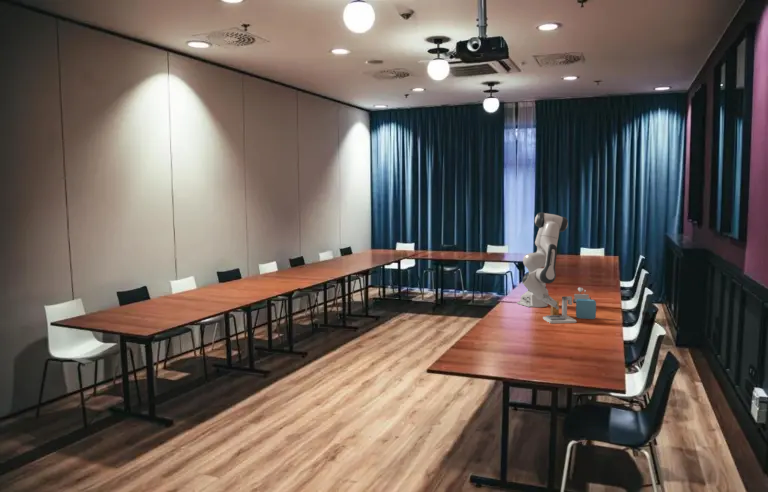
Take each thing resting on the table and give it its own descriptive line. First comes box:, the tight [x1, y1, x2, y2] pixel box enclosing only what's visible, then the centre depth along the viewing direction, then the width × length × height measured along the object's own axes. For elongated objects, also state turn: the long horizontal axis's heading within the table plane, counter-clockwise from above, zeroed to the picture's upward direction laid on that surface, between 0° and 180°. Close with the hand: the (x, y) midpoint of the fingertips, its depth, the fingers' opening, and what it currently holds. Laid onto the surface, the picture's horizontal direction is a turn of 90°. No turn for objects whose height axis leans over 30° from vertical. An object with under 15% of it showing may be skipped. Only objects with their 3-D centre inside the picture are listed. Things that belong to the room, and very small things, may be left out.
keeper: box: [542, 295, 577, 324], centre depth 355 cm, size 17×13×16 cm
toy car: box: [572, 287, 592, 304], centre depth 417 cm, size 18×10×12 cm
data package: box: [575, 299, 597, 320], centre depth 362 cm, size 12×4×12 cm, turn 73°
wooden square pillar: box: [550, 299, 560, 315], centre depth 371 cm, size 4×4×10 cm
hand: (555, 307), depth 371 cm, fingers open, 7 cm apart
